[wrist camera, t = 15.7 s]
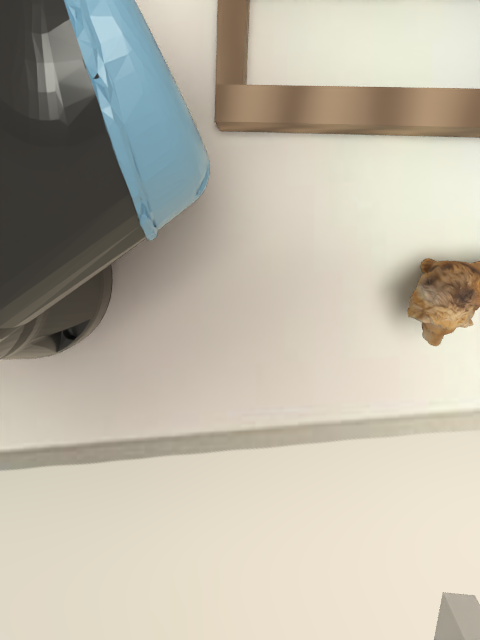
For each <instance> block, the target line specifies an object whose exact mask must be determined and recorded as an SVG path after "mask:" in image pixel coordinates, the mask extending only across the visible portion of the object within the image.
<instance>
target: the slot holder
mask: <svg viewBox="0 0 480 640" xmlns="http://www.w3.org/2000/svg"><path fill="white" fill-rule="evenodd" d="M249 1H250V0H218V13H217V55H216V96H215V122H216V124H217V126H218V128H219V130H220V131H244V132H284V133H324V134H365V135H405V136H445V137H480V89H461V88H402V87H342V86H282V85H246V77H247V51H248V26H249Z"/></svg>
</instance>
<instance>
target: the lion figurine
mask: <svg viewBox="0 0 480 640" xmlns="http://www.w3.org/2000/svg"><path fill="white" fill-rule="evenodd" d="M420 267H421V270H422V272H424V274H422V275H421V277H420V280H419V281H418V283H417V287H416V289H415V291H414V292H413V294H412V296H411V297H410V301H409V308H408V317H412V318H415V319H416V320H419V321H421V322H422V330H423V333H422V336H423V338H424V339H425V340H426V341H428V343H429V344H430V345H433V346H438V345H439V344H440V343H441V341H442V339H443V336H444V335H446V334H449V333H452V332H453V331H454V330H455V329H456V327H464V328H465V327H468V326H472V325H473V322H472V320H471V318H472V317H473V315H474V312H475V310H477V309H478V308H479V307H480V261H478V262H474V263H471V264H470V263H466V262H458V261H438V262H437V261H435V260H432V259H425V260H424V261H423V262H422V263H421V266H420Z"/></svg>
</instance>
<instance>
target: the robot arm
mask: <svg viewBox="0 0 480 640" xmlns="http://www.w3.org/2000/svg"><path fill="white" fill-rule="evenodd" d="M209 173H210V164H209V158H208V154H207V151H206V149H205V146H204V144H203V141H202V139H201V137H200V134H199V132H198V130H197V128H196V125H195V123H194V121H193V119H192V117H191V114H190V112H189V110H188V108H187V106H186V104H185V102H184V99H183V97H182V95H181V93H180V91H179V89H178V87H177V85H176V83H175V81H174V78H173V76H172V74H171V72H170V70H169V68H168V66H167V64H166V62H165V60H164V58H163V56H162V54H161V52H160V50H159V48H158V46H157V44H156V42H155V40H154V38H153V35H152V33H151V31H150V29H149V27H148V25H147V23H146V21H145V19H144V17H143V15H142V13H141V11H140V9H139V7H138V6H137V4H136V2H135V0H0V359H31V358H42V357H47V356H50V355H54V354H57V353H60V352H62V351H64V350H66V349H68V348H70V347H71V346H73V345H75V344H76V343H78V342H80V341H81V340H83V339H84V338H86V337H87V336H88V335H89V334H90V333H91V332H92V331H93V330H94V329H95V328H96V327H97V325H98V324H99V322H100V321H101V319H102V318H103V316H104V314H105V312H106V309H107V307H108V304H109V300H110V296H111V289H112V271H111V263H113V262H114V261H115V260H117V259H118V258H120V257H121V256H122V255H124V254H125V253H127V252H128V251H129V250H131V249H132V248H134V247H135V246H136V245H138V244H139V243H141V242H142V241H143V240H145V239H147V240H149V241H152V240H153V239H154V238H155V237H156V236H157V233H158V230H159V229H160V228H162V227H163V226H164V225H166V224H167V223H168V222H169V221H171V220H172V219H173V218H174V217H176V216H177V215H178V214H180V213H181V212H182V211H183V210H185V209H186V208H187V207H188V206H190V205H191V204H192V203H193V202H195V201H196V200H197V199H198V198H199V197H200V196H201V194H202V193H203V191H204V190H205V188H206V186H207V183H208V179H209ZM434 640H480V604H479V603H478V601H477V599H476V597H475V596H474V595H464V594H453V593H444V592H443V595H442V600H441V605H440V610H439V616H438V621H437V626H436V632H435V637H434Z"/></svg>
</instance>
